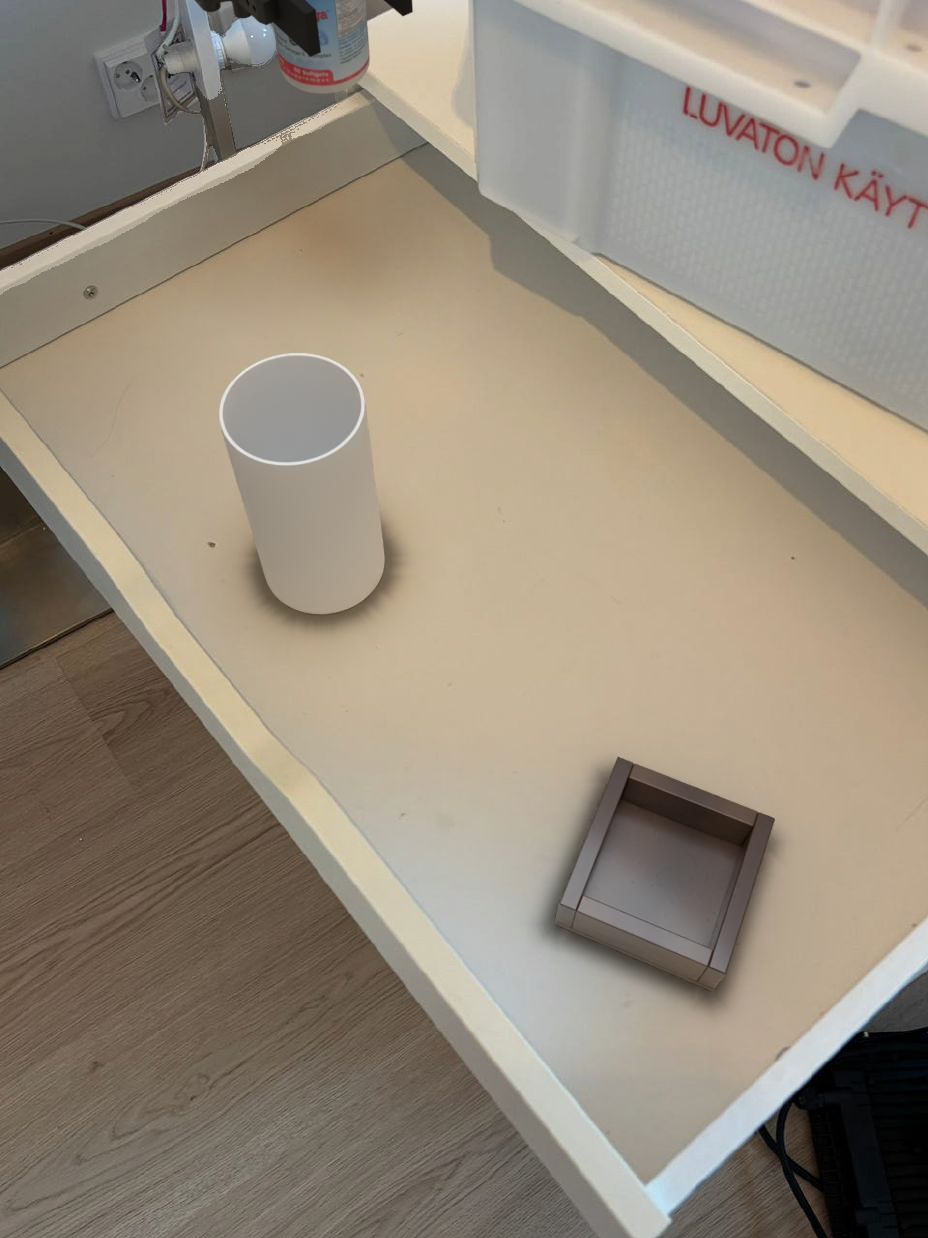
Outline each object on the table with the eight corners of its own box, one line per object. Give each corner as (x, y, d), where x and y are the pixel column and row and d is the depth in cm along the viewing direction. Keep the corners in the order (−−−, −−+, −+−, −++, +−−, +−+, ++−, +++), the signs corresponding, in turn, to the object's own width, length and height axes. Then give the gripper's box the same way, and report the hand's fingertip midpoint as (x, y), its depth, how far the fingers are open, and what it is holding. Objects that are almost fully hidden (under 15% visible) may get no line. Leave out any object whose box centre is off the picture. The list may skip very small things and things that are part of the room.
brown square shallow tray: (554, 924, 65) (558, 903, 62) (610, 782, 70) (617, 756, 66) (712, 991, 63) (726, 974, 60) (759, 842, 68) (775, 818, 64)
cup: (322, 637, 75) (288, 491, 61) (238, 565, 78) (187, 410, 64) (409, 559, 78) (395, 403, 64) (325, 493, 81) (295, 330, 67)
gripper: (298, -135, 84) (486, 15, 75) (64, -46, 79) (235, 128, 69) (284, -253, 78) (487, -105, 69) (27, -165, 72) (211, 9, 63)
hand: (360, 12), depth 69 cm, fingers closed on pill bottle, 6 cm apart
